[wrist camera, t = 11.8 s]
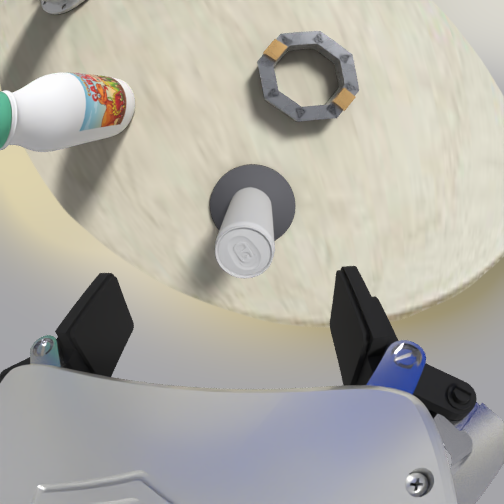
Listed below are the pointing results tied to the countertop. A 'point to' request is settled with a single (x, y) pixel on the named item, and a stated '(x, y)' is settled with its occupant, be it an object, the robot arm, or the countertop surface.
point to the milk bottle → (64, 111)
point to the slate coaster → (261, 180)
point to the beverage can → (246, 235)
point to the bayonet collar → (328, 50)
